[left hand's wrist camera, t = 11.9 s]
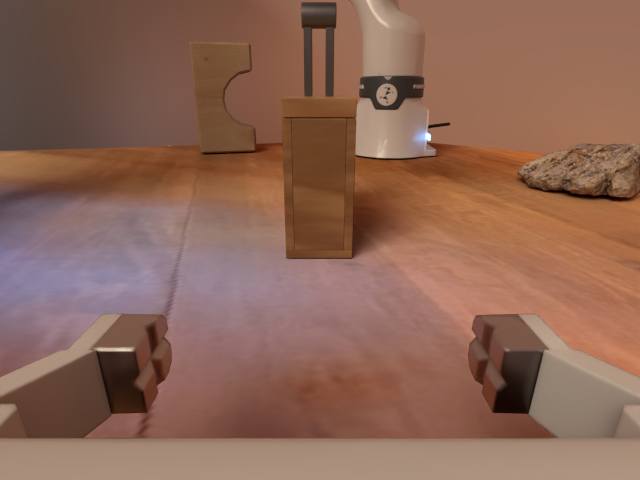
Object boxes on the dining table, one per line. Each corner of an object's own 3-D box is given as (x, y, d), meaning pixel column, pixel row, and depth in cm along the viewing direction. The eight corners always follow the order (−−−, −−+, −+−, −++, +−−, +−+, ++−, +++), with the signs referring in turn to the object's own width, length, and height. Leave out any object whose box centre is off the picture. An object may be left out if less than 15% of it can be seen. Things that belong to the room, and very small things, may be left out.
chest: (296, 207, 43) (293, 109, 39) (342, 208, 43) (344, 109, 39) (286, 258, 30) (281, 118, 26) (352, 258, 30) (356, 118, 26)
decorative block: (254, 148, 85) (248, 45, 78) (256, 151, 80) (250, 42, 73) (201, 149, 83) (190, 44, 76) (200, 153, 78) (188, 41, 71)
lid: (294, 108, 39) (291, 10, 36) (343, 108, 39) (345, 10, 36) (281, 117, 26) (276, -36, 23) (356, 117, 26) (361, -36, 23)
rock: (658, 197, 46) (674, 147, 44) (593, 205, 43) (607, 151, 41) (550, 172, 59) (558, 133, 57) (494, 176, 56) (501, 135, 54)
